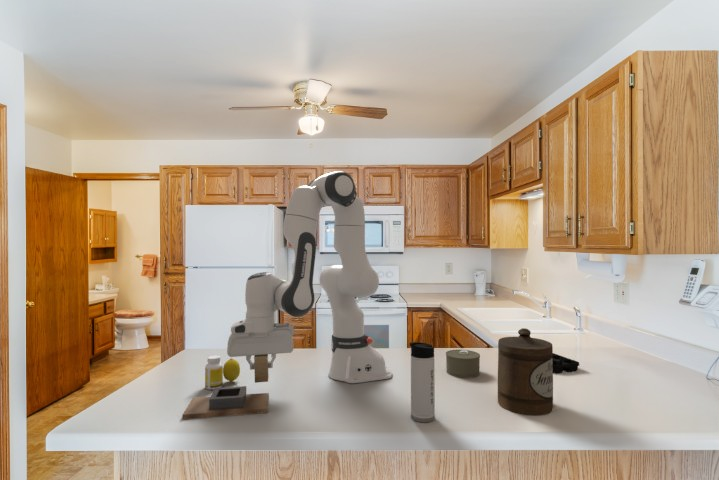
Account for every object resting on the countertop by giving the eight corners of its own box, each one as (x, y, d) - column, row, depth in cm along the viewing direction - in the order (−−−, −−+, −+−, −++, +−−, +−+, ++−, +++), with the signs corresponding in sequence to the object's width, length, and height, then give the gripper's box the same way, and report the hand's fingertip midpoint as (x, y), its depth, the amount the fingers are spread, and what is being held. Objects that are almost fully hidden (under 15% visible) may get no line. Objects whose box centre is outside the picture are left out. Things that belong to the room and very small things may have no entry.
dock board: (268, 396, 125) (268, 392, 125) (267, 412, 113) (267, 408, 113) (192, 402, 121) (192, 397, 121) (182, 419, 109) (182, 414, 109)
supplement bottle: (226, 385, 135) (226, 355, 135) (215, 391, 130) (215, 360, 130) (212, 383, 137) (212, 354, 137) (201, 389, 132) (201, 358, 132)
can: (443, 375, 144) (443, 356, 144) (448, 366, 155) (448, 348, 155) (478, 380, 140) (478, 359, 140) (481, 370, 151) (481, 351, 151)
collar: (246, 396, 122) (246, 386, 122) (243, 408, 113) (243, 397, 113) (214, 398, 120) (214, 388, 120) (209, 410, 111) (209, 399, 112)
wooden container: (549, 420, 108) (548, 336, 108) (492, 408, 115) (491, 330, 116) (556, 401, 120) (555, 326, 120) (504, 392, 128) (503, 321, 128)
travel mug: (407, 413, 112) (407, 340, 112) (431, 412, 113) (430, 339, 113) (412, 423, 106) (412, 346, 106) (437, 422, 106) (437, 345, 107)
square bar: (268, 377, 131) (268, 352, 131) (268, 381, 127) (267, 355, 127) (255, 378, 130) (255, 353, 130) (254, 382, 126) (254, 356, 126)
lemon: (234, 385, 135) (234, 361, 135) (219, 384, 136) (219, 360, 136) (242, 380, 140) (242, 356, 140) (228, 379, 141) (228, 355, 141)
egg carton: (523, 351, 178) (523, 342, 178) (590, 370, 151) (590, 359, 151) (494, 356, 170) (494, 347, 170) (559, 377, 143) (559, 366, 143)
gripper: (293, 320, 133) (294, 362, 133) (228, 324, 130) (229, 367, 130) (294, 324, 127) (295, 368, 127) (225, 328, 123) (226, 374, 123)
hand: (261, 368), depth 128 cm, fingers closed on square bar, 4 cm apart
